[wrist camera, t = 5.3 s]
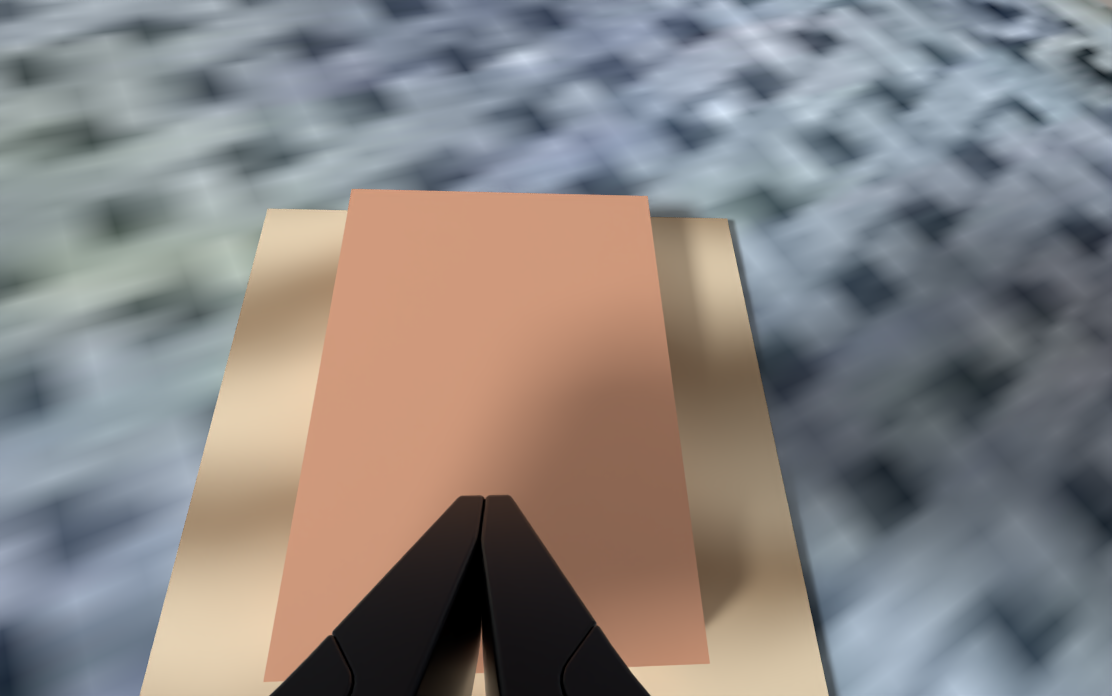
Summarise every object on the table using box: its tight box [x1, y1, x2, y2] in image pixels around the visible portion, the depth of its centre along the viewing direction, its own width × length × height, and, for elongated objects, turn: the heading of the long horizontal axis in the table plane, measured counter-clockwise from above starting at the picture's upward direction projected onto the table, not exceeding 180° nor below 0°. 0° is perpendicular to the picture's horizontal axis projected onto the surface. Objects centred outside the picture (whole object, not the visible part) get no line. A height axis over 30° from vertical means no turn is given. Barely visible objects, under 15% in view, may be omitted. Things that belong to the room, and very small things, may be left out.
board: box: [140, 209, 829, 696], centre depth 16 cm, size 24×18×1 cm
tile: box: [263, 189, 710, 682], centre depth 16 cm, size 3×10×14 cm
